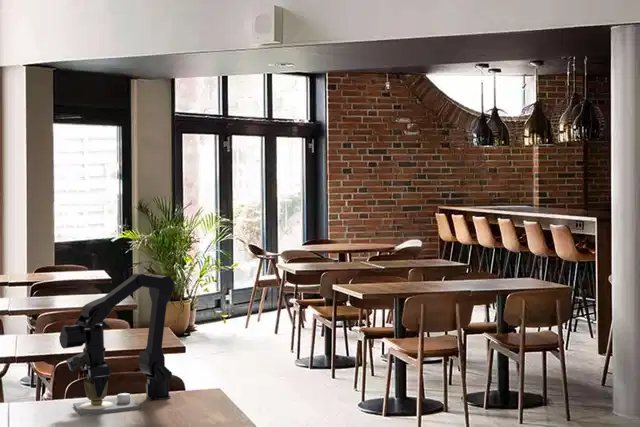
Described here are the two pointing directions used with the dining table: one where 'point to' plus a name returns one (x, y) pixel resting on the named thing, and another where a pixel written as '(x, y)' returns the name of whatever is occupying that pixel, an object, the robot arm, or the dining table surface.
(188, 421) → the dining table surface
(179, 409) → the dining table surface
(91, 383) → the cup
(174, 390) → the dining table surface
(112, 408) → the carrier plate
